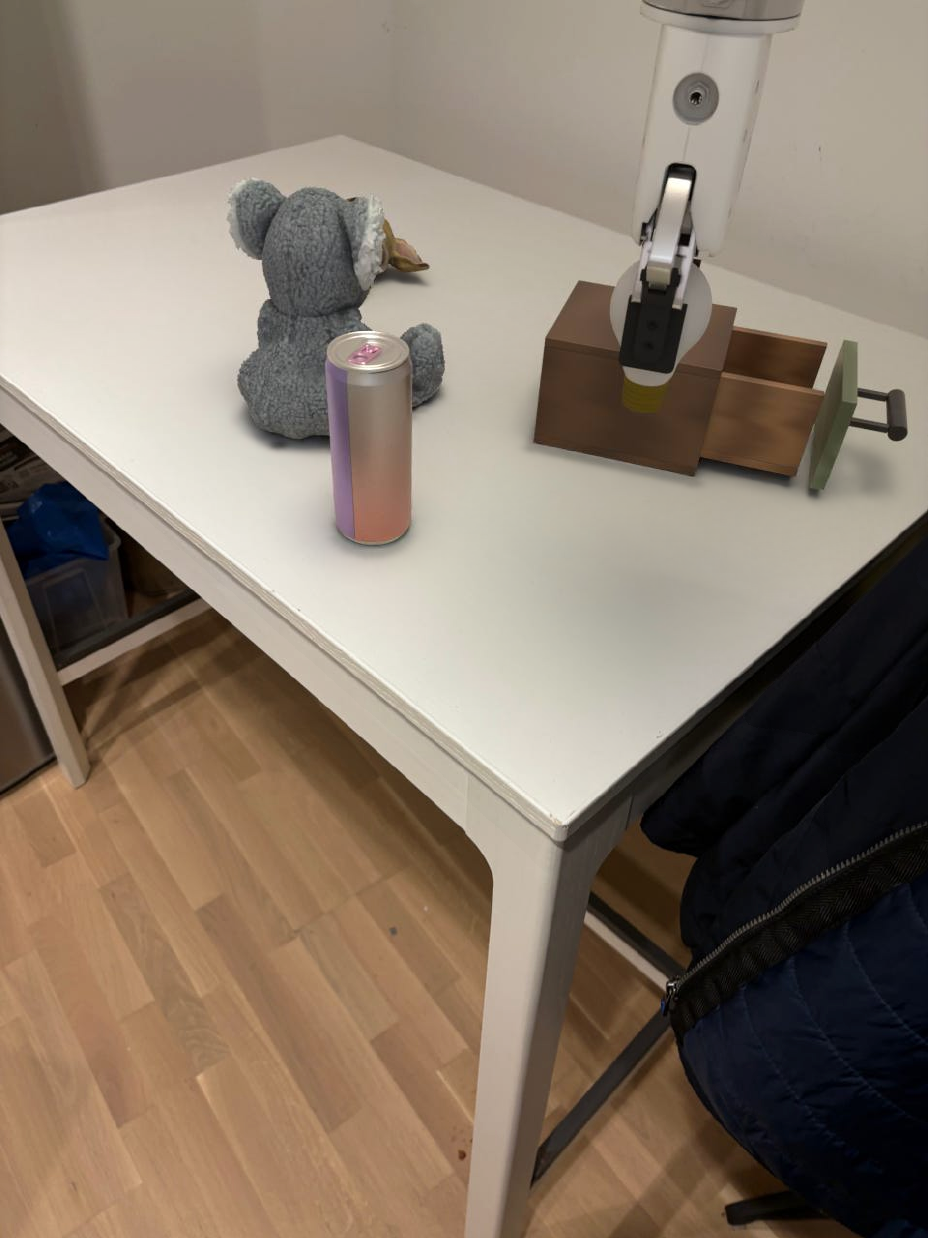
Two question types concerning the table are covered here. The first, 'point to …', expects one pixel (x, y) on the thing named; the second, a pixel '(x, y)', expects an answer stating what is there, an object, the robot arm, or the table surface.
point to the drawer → (789, 405)
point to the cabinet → (593, 381)
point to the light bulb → (649, 387)
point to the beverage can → (370, 434)
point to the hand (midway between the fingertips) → (654, 340)
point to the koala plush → (312, 299)
